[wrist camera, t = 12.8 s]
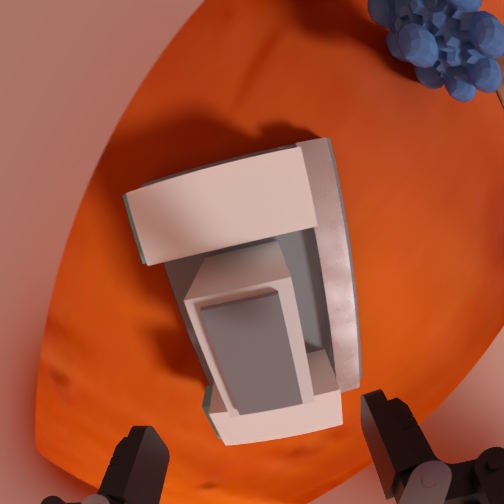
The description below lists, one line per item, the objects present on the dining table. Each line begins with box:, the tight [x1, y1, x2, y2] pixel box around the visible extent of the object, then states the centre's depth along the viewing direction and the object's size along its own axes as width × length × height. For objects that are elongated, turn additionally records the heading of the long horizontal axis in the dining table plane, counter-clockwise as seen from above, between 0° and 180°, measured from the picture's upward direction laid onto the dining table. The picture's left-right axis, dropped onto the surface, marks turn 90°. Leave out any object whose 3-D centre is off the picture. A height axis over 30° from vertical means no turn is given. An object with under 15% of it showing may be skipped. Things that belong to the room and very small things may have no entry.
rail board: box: [122, 137, 362, 446], centre depth 19 cm, size 20×13×6 cm, turn 13°
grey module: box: [184, 241, 315, 417], centre depth 17 cm, size 8×5×7 cm, turn 14°
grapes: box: [368, 0, 504, 102], centre depth 11 cm, size 12×7×12 cm, turn 48°
